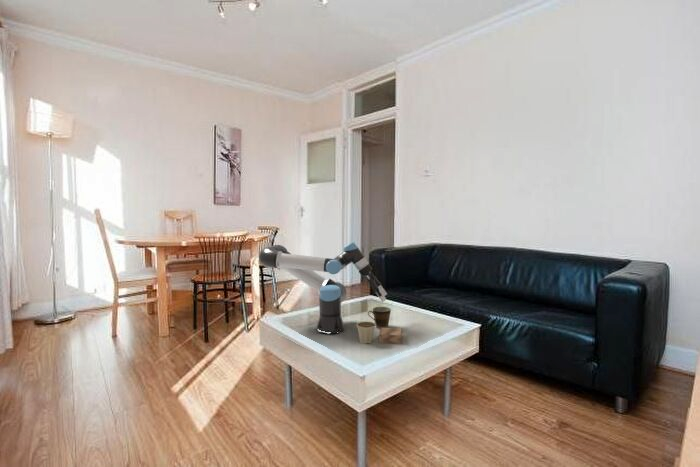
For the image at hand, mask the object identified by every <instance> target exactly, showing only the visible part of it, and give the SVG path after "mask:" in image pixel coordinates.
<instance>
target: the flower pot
mask: <svg viewBox="0 0 700 467" xmlns="http://www.w3.org/2000/svg"><path fill="white" fill-rule="evenodd" d="M356 327H357V329H358V336H359V337H358V338H359V342H360V343H361V344H365V345H366V344H371V343H373V339H374V331H375V328H376V324H375V322H372V321H359V322H357V323H356Z"/></svg>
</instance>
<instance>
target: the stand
mask: <svg viewBox="0 0 700 467" xmlns="http://www.w3.org/2000/svg"><path fill="white" fill-rule="evenodd" d="M378 340H379V343H381V344H382V343H384V344H403V328H402V327H401V328H400V327H387V328H379V334H378Z"/></svg>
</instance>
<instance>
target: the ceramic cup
mask: <svg viewBox="0 0 700 467" xmlns="http://www.w3.org/2000/svg"><path fill="white" fill-rule="evenodd" d="M391 310H392V309H391V307H388V306H376V307H373V308H372V310H369V311H368V312H367V315H368V316H369V317H370V318H371V319H372V320H373V321H374V323H375V324H376V326H375V328H377V329H380V328H389V322H390V317H391ZM369 313H372V315H373V316H371V315H370V314H369ZM373 317H374V318H373Z"/></svg>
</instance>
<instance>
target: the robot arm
mask: <svg viewBox="0 0 700 467" xmlns="http://www.w3.org/2000/svg"><path fill="white" fill-rule="evenodd" d="M342 250H343V251H342V253H340V254H339V255H337V256H335V257H333V258H329V257H328V258H326V257H320V256H311V255H302V254H292V253H290V252H289V251H288V249H287V247H285V246H284V245H281V244H273V245H271V246H267V247H264V248H263V249H261V250H260V252H259V255H258V259H259V263H260V264H261V265H262V266H263V267H265V268H269V269H270V268H271V269H277V270H279V271H285V272H287V273H288V274H290V275H291V276H293V277H294V278H296V279H298V280H299V281H301V282H302V283H304V284H305V285H307V286H308V287H310V288H311V289H312V290H313V289H314V291H316V292H317V293H318V301H319V304H318V305H319V307H318V308H319V317H318V319H317V324H316V329H317V328H318V329H319V330H321V331H325V332H331V333H337V332H341V333H343V332H344V331H345V322H344V321H343V317H342V303H343V302H344V301H345V299H346V296H347V288H346V286H345V285H344V283H342V282H340V281H339V282H338V281H335V280H333V279H331V278H325V277H324V276H322V275H320V274H318V272H323V273H328V274H330V275H336V274H338V273H340V272H341V271H342V270H343V269H344V268H345V267H347V266H348V265H350V264H351V263H352V264H353V266H354V267H355V270H357V271H358V273H359V274H360V275H361V277H364V276H365V279H366V280H367V282H368V284H369V285H370V287H371V289H372V291H373V293H374V294H376V295H377V297H378V298H379V299H380V301H381V302H382V303H384V302H385V301H387V298H386V296H387V295H388V293H387V291H386V290H385V288H383V286H382V282H380V281H379V279H377V277H376V276H375V275H374V273H373V271H372V270H373V267H372V266H371V264H370V263H369V261H368V258H367V257H365V255H363V253H362V251H361V249H360V248H359V247H358V245H357V244H356V243H355V241H352V242H349V243H347V245H345V246H344V247H343V248H342ZM315 271H316V272H315ZM342 331H343V332H342ZM337 334H338V333H337Z"/></svg>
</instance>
